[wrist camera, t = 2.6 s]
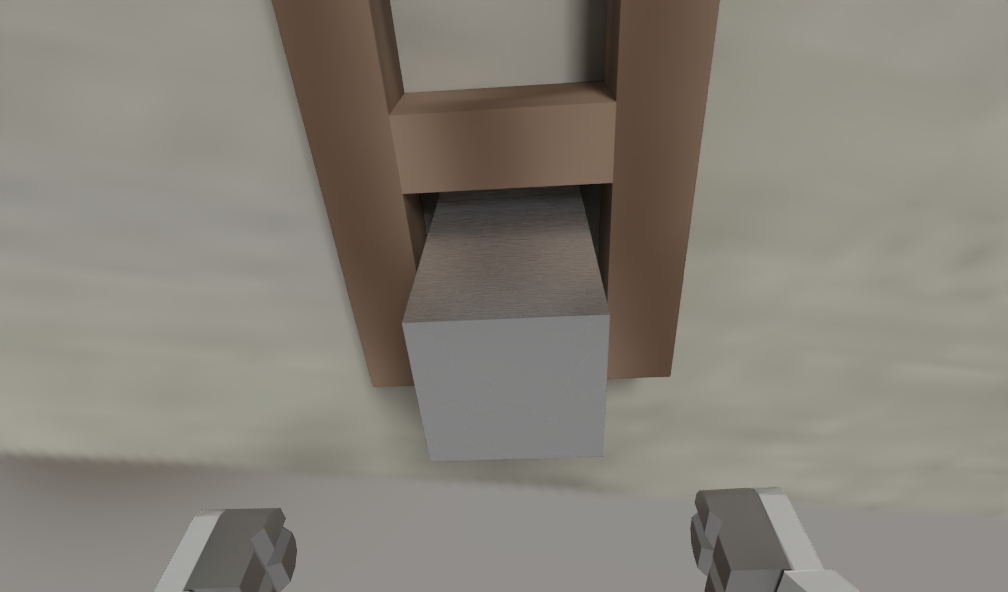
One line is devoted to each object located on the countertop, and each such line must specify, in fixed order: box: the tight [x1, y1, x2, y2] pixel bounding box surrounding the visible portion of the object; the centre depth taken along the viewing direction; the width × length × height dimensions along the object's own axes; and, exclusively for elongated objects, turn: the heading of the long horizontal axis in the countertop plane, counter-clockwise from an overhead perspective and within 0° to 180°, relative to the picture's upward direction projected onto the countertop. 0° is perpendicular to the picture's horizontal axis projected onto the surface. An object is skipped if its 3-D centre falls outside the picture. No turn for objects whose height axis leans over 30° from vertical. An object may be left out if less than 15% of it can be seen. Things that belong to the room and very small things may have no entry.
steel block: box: [402, 185, 610, 461], centre depth 17 cm, size 5×5×8 cm
